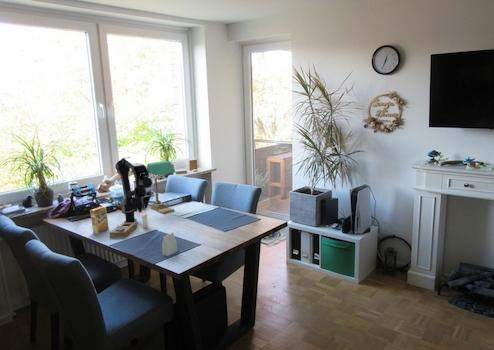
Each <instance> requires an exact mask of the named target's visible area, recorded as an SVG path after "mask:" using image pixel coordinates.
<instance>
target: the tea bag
mask: <svg viewBox="0 0 494 350" xmlns="http://www.w3.org/2000/svg"><path fill="white" fill-rule="evenodd" d="M177 243H178V242H177V239H176V237H175V234H174V232H171V233H169V234H166V235H164V236H163V239H162V241H161V251H162V256H166V257H169V256H171V255H173V254H175V253H177V252H178V245H177Z"/></svg>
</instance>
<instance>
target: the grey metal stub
mask: <svg viewBox="0 0 494 350" xmlns="http://www.w3.org/2000/svg"><path fill="white" fill-rule="evenodd" d="M116 227H117V228H118V231H123V225H122V223H119V224H117V225H116Z"/></svg>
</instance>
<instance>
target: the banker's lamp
mask: <svg viewBox="0 0 494 350" xmlns="http://www.w3.org/2000/svg"><path fill="white" fill-rule="evenodd" d="M146 169H147V170H148V172H149V173H148V174H149V176H148V178H150V179H152V178H154V182H153V183H154V193H155V200H154V202H153V203H152V204H151V206H150V209H151V210H153V211H155V212H158V213H161V214H163V215H164V214H170V213H173V212H175V208H171V207H169V206H167V205H166V204H165V203H162V201H161V200H160V199H159V193H158V192H159V191H158V178H160V177H163V176H166V175H167V174H174V173H176V170H175V168H174V165H173V164H172V162H171V161H169V160H161V161H154V162H148V163H147V164H146ZM151 175H154V176H151ZM155 176H156V177H155Z"/></svg>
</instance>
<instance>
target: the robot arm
mask: <svg viewBox="0 0 494 350" xmlns="http://www.w3.org/2000/svg"><path fill="white" fill-rule="evenodd" d="M114 167H115V170H116V173H117V174H118V175H119V176H120V180H121V185H122V191H123V196H124V199H123V202H122V204H123V205H122V207H121V209H120V210H121V213H122V214H123V215H124V216H125V220H124V222H123V223H135V222H136V221H137V220H138V219H137V218H136V217H135V213H136V212H138V213H142V211H143V207H144V209H147V208H148V207H149V206H148V205H149V202H150V200H151V198H152V195H153V192H152V191H151V190H147V189H148V188H150V187H152V185H153V181H152V178H150V177H148V176H150V173H149V172H148V170H147V165H145V164H143V163H139V162H136V161H135V160H133V159H132V158H131V157H130V156H125V157H122V158H121V159H120V160H118V161H117V162H116V164H115V166H114ZM130 171H131V173H132V174H133V177H134V181H135V183H134V184H135V187H134V189H132V188H131V183H130V178H129V173H130ZM148 173H149V174H148Z"/></svg>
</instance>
